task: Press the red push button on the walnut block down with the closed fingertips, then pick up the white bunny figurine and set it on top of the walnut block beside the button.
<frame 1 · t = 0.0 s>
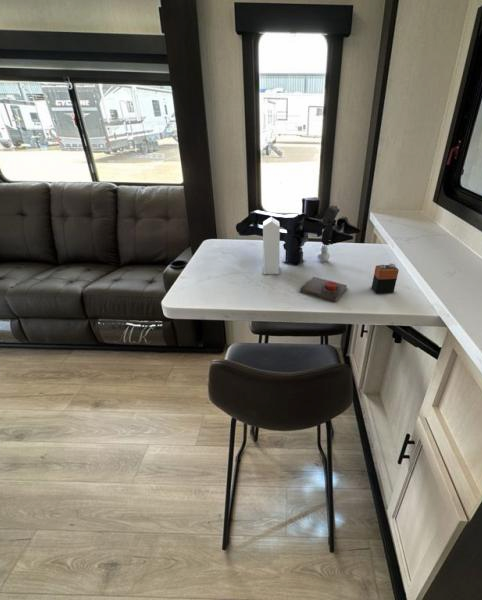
hand: (357, 234, 110), 17 cm above the table, tool horizontal, fingers open, 9 cm apart
milk: (271, 271, 120), on the table
battery: (382, 291, 108), on the table
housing: (323, 290, 107), on the table
white bunny figurine: (322, 260, 131), on the table
button: (331, 286, 102), point 4 cm above the table, slide at 0.1 cm
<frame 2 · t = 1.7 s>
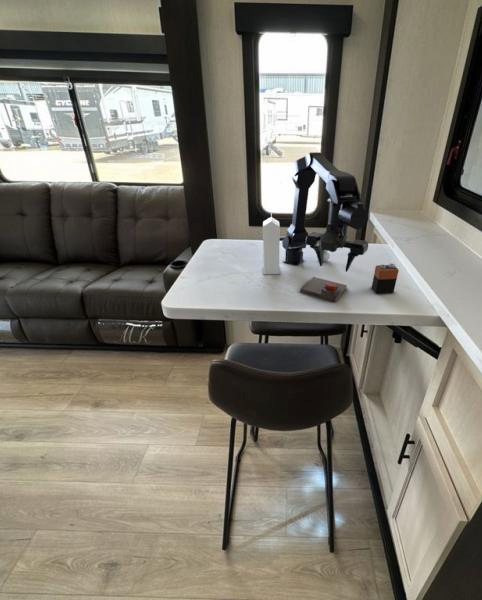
hand: (333, 268, 98), 10 cm above the table, tool pointing down, fingers open, 8 cm apart
nothing on the table moved.
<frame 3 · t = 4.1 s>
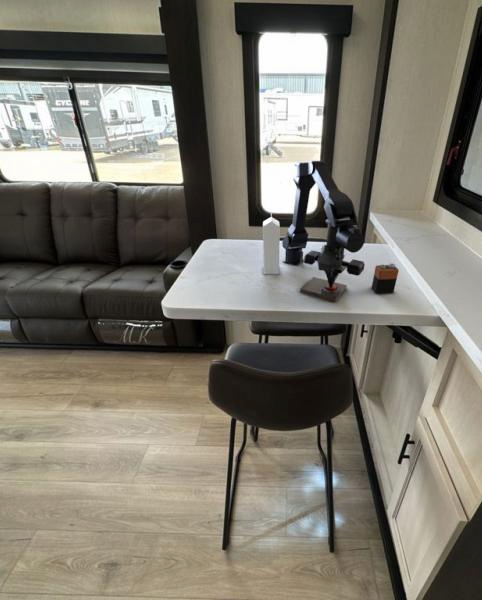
hand: (331, 285, 102), 4 cm above the table, tool pointing down, fingers closed, pressing on button
button: (330, 288, 102), point 3 cm above the table, slide at -0.7 cm, touching gripper
everything else where it was.
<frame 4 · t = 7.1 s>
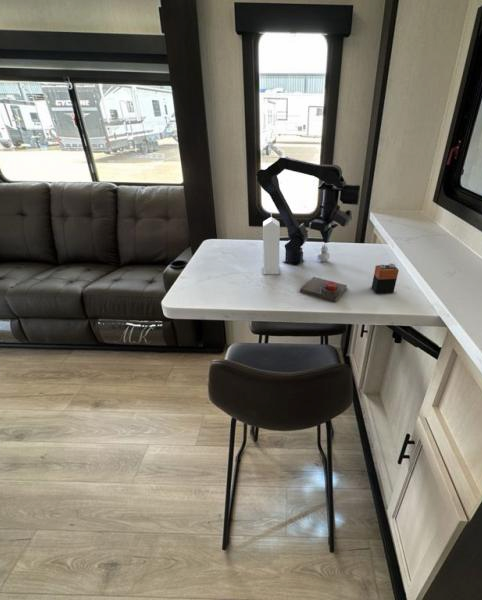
hand: (325, 242, 120), 10 cm above the table, tool pointing down, fingers closed
button: (331, 286, 102), point 4 cm above the table, slide at 0.1 cm
everything else where it was.
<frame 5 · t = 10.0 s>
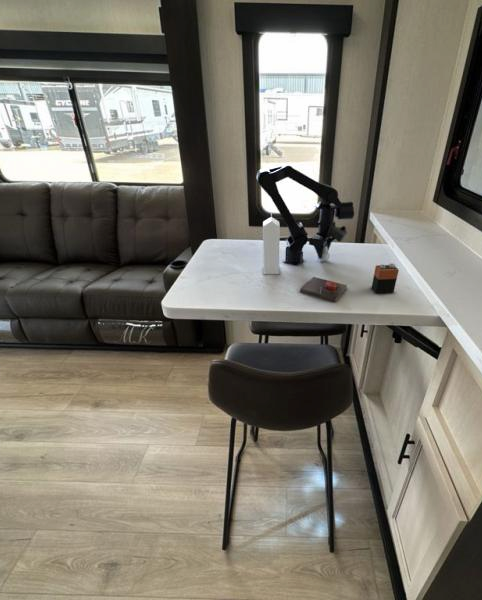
hand: (323, 256, 130), 2 cm above the table, tool pointing down, fingers closed on white bunny figurine, 6 cm apart
white bunny figurine: (322, 260, 131), on the table, touching gripper
everything else where it was.
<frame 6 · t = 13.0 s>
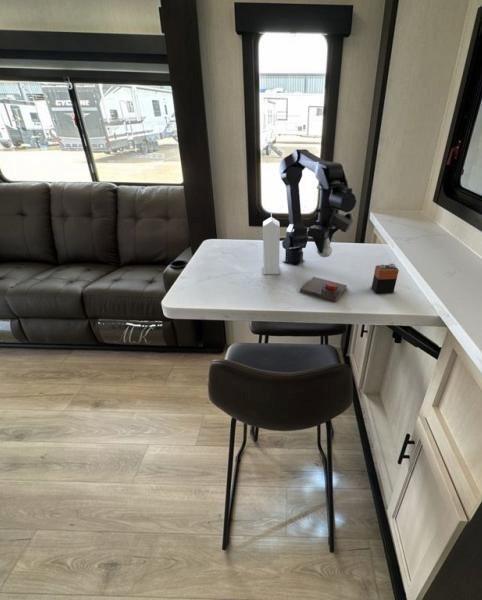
hand: (323, 250, 107), 12 cm above the table, tool pointing down, fingers closed on white bunny figurine, 6 cm apart
white bunny figurine: (323, 256, 108), point 10 cm above the table, touching gripper
everything else where it was.
when the fingers open (3 cm above the table, at t = 16.1 s): white bunny figurine stays where it is, resting on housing.
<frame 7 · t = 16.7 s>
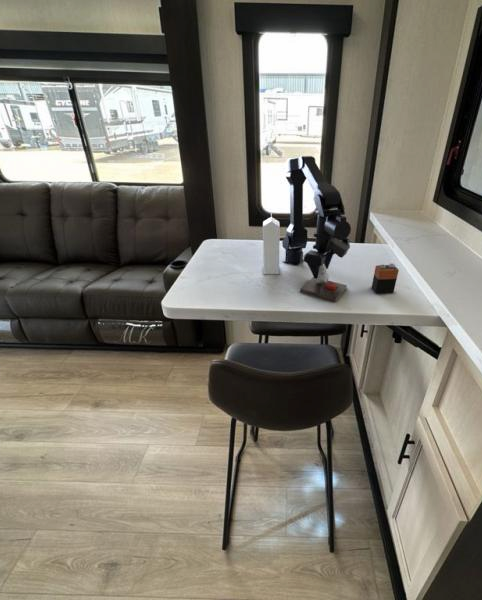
hand: (321, 273, 108), 5 cm above the table, tool pointing down, fingers open, 9 cm apart
white bunny figurine: (320, 282, 110), point 1 cm above the table, touching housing
everything else where it was.
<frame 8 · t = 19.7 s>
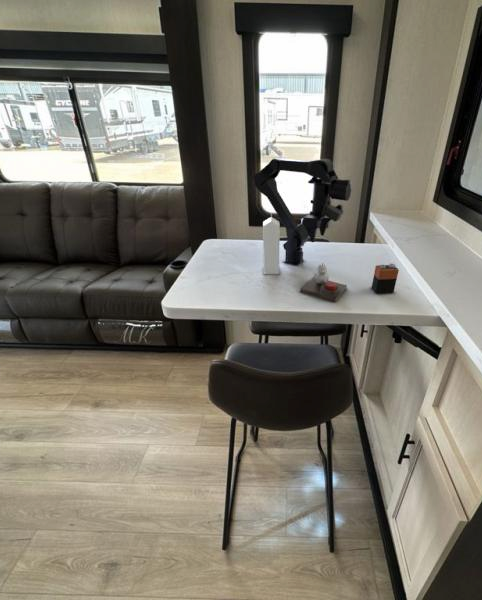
hand: (317, 238, 118), 12 cm above the table, tool pointing down, fingers open, 9 cm apart
nothing on the table moved.
at the end: button pushed in 1.1 cm at the most during the clip, back to where it started at the end; button slide at 0.1 cm; white bunny figurine 0.2 cm from the target spot on the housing, point 1.3 cm above the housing's base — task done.
